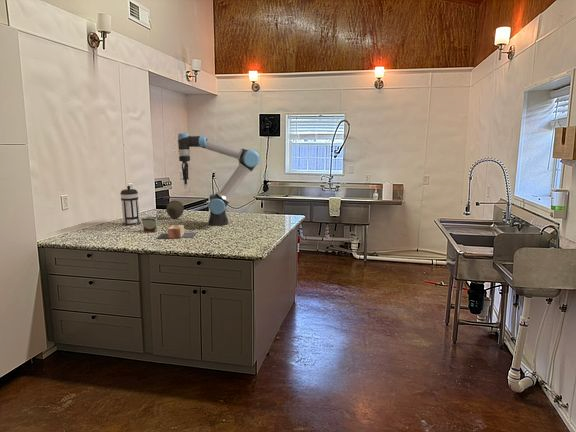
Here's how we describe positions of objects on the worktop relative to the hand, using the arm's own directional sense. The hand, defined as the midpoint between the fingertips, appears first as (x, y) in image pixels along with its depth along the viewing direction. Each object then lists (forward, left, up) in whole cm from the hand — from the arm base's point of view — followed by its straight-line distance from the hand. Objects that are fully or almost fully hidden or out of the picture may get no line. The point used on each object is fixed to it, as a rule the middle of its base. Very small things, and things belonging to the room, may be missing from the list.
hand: (186, 188), depth 290 cm
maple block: (+4, +30, -26) cm, 40 cm away
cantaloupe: (+18, -42, -30) cm, 54 cm away
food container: (+25, +5, -30) cm, 39 cm away
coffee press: (+47, -22, -30) cm, 60 cm away
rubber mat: (+4, +22, -29) cm, 37 cm away
